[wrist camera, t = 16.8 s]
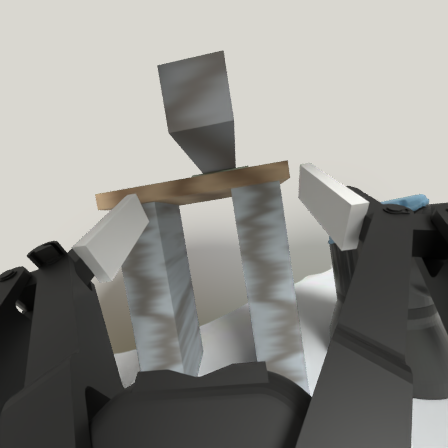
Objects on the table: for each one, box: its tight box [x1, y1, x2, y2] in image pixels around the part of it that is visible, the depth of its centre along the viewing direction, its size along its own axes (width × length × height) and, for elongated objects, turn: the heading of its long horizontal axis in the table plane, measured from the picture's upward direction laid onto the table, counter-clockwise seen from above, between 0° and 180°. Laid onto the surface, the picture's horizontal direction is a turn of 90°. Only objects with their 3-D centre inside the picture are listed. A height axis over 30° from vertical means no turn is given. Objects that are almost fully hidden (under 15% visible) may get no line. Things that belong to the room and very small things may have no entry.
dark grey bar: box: [158, 51, 236, 174], centre depth 26 cm, size 4×30×4 cm, turn 176°
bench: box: [95, 161, 310, 395], centre depth 29 cm, size 24×12×30 cm, turn 86°
